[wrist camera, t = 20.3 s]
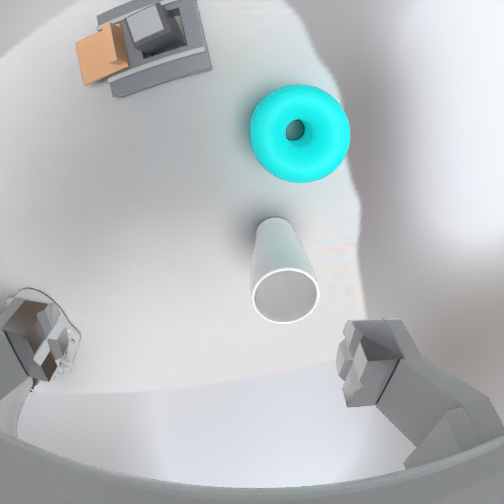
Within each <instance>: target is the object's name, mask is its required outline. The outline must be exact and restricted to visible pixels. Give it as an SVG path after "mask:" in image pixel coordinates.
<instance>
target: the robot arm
mask: <svg viewBox="0 0 504 504" xmlns="http://www.w3.org/2000/svg"><path fill="white" fill-rule="evenodd" d="M343 333H344V336H345V339H344V340H343V341H342V342H341V343H340V344H339V347H338V351H337V359H336V363H337V370H338V374H339V376H340V377H341V378H342V379H343V380H344V381H345V383H344V385H343V388H342V390H343V393H344V397H345V400H346V405H347V407H360V406H371V405H376V407H377V408H378V409H379V410H380V411H381V412H382V413H383V414H384V415H385V416H386V417H387V418H388V419H389V420H390V421H391V422H392V423H393V424H394V425H395V426H396V427H397V428H398V429H399V430H400V431H401V432H402V433H403V434H404V435H405V436H406V437H407V438H408V439H409V440H410V441H411V442H412V443H413V444H414V445H415V446H416V447H417V448H416V449H415V450H414V451H413V452H412V453H411V455H410V456H409V457H408V458H407V459H406V460H405V462H404V466H405V469H406V470H403V471H399V472H395V473H390V474H386V475H381V476H376V477H372V478H366V479H360V480H354V481H347V482H340V483H333V484H324V485H314V486H302V487H286V488H228V487H212V486H199V485H190V484H181V483H174V482H167V481H160V480H154V479H148V478H143V477H138V476H133V475H128V474H124V473H119V472H115V471H111V470H107V469H103V468H99V467H96V466H92V465H89V464H85V463H82V462H79V461H76V460H72V459H69V458H66V457H63V456H60V455H58V454H55V453H52V452H49V451H47V450H44V449H41V448H39V447H37V446H34V445H32V444H29V443H27V442H24V441H22V440H20V439H18V437H17V423H18V418H19V414H20V412H21V409H22V407H23V404H24V402H25V399H26V397H27V395H28V393H29V391H31V390H30V389H34V388H33V387H35V385H36V384H38V383H39V382H40V380H44V381H48V382H49V381H51V380H54V378H55V377H56V375H57V373H60V374H63V373H69V372H70V371H71V368H72V365H73V361H74V358H75V354H76V351H77V348H78V345H79V341H80V338H81V335H80V334H79V332H78V331H77V330H76V329H75V328H74V327H73V326H72V325H71V324H70V323H69V321H68V320H67V318H66V316H65V315H64V313H63V312H62V310H61V309H60V308H59V307H58V305H57V304H56V303H55V302H53V301H52V300H51V299H50V298H49V297H47V296H46V295H44V294H43V293H41V292H39V291H36V290H33V289H22V290H20V291H19V292H18V293H17V294H16V295H15V296H14V297H9V298H8V299H7V300H6V308H5V309H4V310H3V311H2V313H1V314H0V504H504V426H503V424H502V422H501V420H500V418H499V416H498V414H497V412H496V410H495V408H494V406H493V405H492V403H491V401H490V399H489V398H488V397H487V396H486V395H484V394H482V393H481V392H480V391H478V390H477V389H475V388H474V387H472V386H470V385H469V384H468V383H466V382H464V381H463V380H461V379H460V378H458V377H457V376H455V375H454V374H452V373H451V372H449V371H448V370H446V369H445V368H443V367H442V366H440V365H439V364H437V363H436V362H434V361H433V360H431V359H429V358H428V357H422V356H421V354H420V352H419V351H418V348H417V347H416V345H415V343H414V341H413V339H412V338H411V336H410V334H409V332H408V331H407V329H406V327H405V326H404V324H403V322H402V320H401V319H399V318H384V319H368V320H348V321H347V322H346V324H345V327H344V330H343ZM31 392H32V391H31Z"/></svg>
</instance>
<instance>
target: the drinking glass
mask: <svg viewBox="0 0 504 504" xmlns="http://www.w3.org/2000/svg"><path fill="white" fill-rule="evenodd" d="M255 240H256V241H255V248H254V254H253V260H252V266H251V275H250V290H251V301H252V305H253V307H254V309H255V311H256V312H257V313H258V314H259V315H260V316H261V317H262V318H264V319H265V320H267V321H270V322H273V323H278V324H288V323H293V322H297V321H299V320H301V319H303V318H305V317H306V316H308V315H309V314H310V313H311V312H312V311H313V310H314V309H315V307H316V305H317V303H318V301H319V296H320V290H319V286H318V282H317V278H316V274H315V271H314V269H313V266H312V264H311V262H310V260H309V258H308V256H307V254H306V252H305V250H304V249H303V247H302V245H301V243H300V241H299V239H298V238H297V236H296V234H295V231H294V229H293V227H292V225H291V224H290V223H289V222H288V221H286V220H285V219H282V218H278V217H273V218H269V219H266V220H265V221H263V222H262V223H261V224H260V225H259V226H258V228H257V230H256V235H255Z"/></svg>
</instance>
